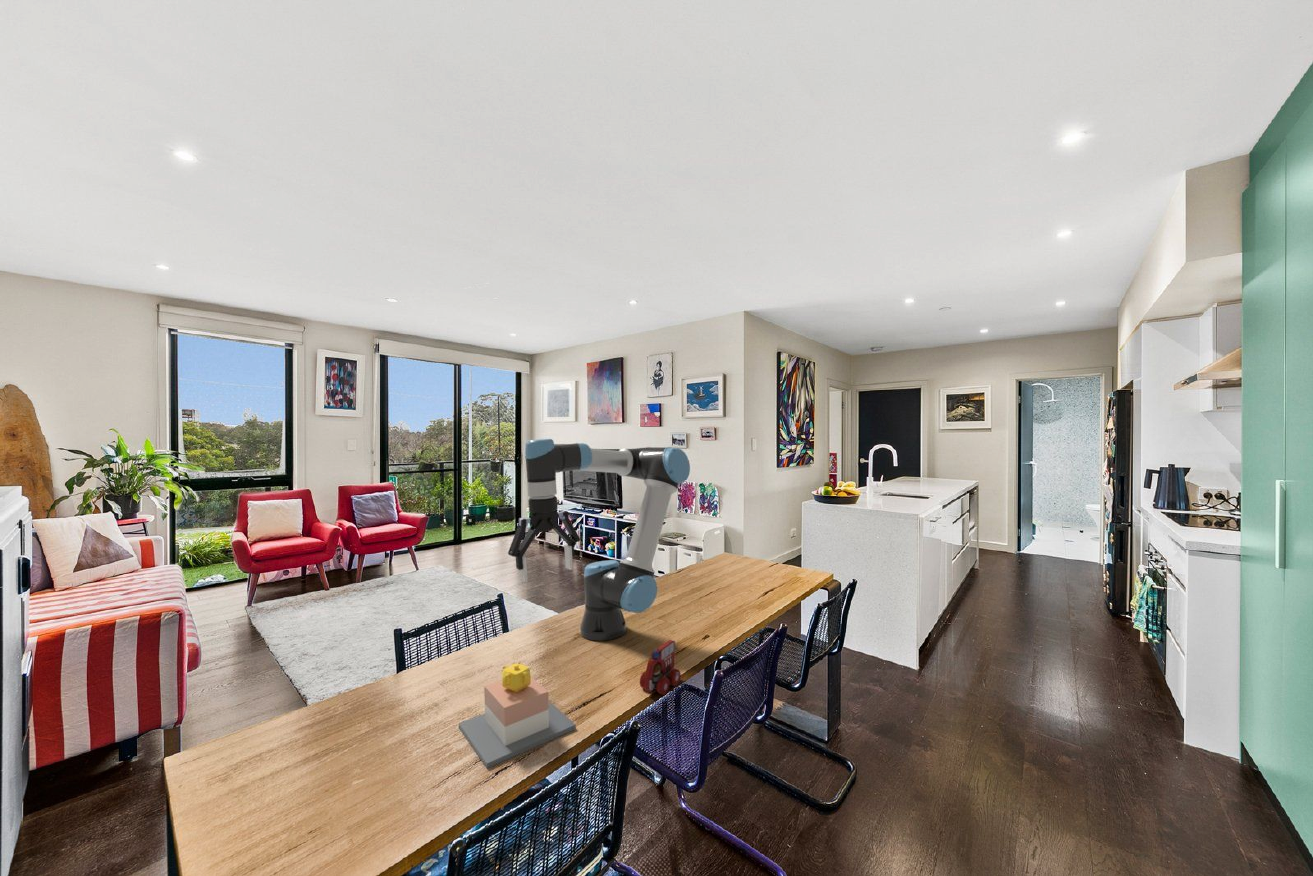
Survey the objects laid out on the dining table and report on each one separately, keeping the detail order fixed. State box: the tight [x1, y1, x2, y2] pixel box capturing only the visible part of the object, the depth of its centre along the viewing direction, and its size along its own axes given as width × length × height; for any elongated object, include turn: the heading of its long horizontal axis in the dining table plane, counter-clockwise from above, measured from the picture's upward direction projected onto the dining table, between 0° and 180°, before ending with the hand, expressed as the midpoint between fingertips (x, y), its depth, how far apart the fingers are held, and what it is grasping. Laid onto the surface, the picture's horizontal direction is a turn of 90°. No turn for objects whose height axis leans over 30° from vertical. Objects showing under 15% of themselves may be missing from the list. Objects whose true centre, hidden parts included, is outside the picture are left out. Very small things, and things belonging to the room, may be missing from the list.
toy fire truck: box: [639, 639, 682, 696], centre depth 128 cm, size 7×12×10 cm, turn 144°
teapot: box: [501, 662, 532, 693], centre depth 111 cm, size 8×6×5 cm
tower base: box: [458, 676, 577, 769], centre depth 112 cm, size 20×18×9 cm
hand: (547, 574), depth 134 cm, fingers open, 13 cm apart
